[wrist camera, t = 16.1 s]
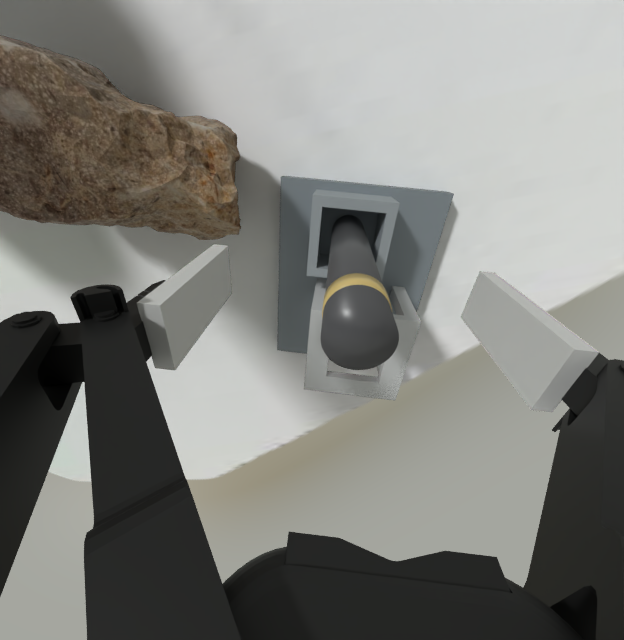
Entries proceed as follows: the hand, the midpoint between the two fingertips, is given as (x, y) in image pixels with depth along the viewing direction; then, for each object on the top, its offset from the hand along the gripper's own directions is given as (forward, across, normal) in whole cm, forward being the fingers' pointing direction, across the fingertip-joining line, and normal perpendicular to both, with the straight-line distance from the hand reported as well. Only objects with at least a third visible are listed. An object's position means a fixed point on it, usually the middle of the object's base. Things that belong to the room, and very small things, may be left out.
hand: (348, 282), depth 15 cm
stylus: (+13, 0, 0) cm, 13 cm away
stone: (+15, -18, +5) cm, 24 cm away
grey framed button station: (+14, +2, -6) cm, 16 cm away
